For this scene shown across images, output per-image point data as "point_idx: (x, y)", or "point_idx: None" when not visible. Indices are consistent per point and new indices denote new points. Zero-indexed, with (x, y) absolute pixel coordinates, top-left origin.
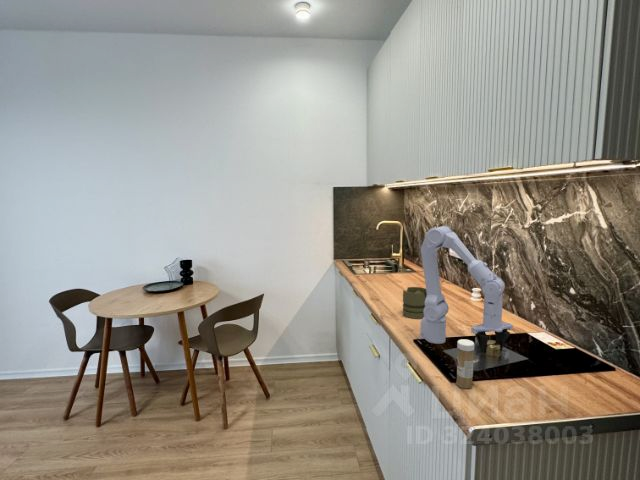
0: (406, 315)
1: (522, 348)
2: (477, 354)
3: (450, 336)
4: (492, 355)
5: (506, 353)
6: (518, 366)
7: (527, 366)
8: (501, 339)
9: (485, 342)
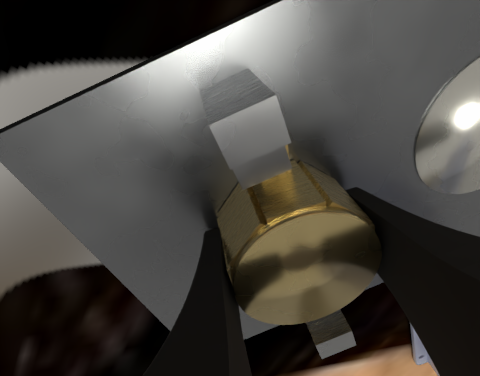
0: None
1: (8, 324)
2: (385, 188)
3: (354, 364)
4: (306, 165)
5: (244, 101)
6: (122, 23)
7: (23, 22)
8: (230, 320)
9: (442, 237)
